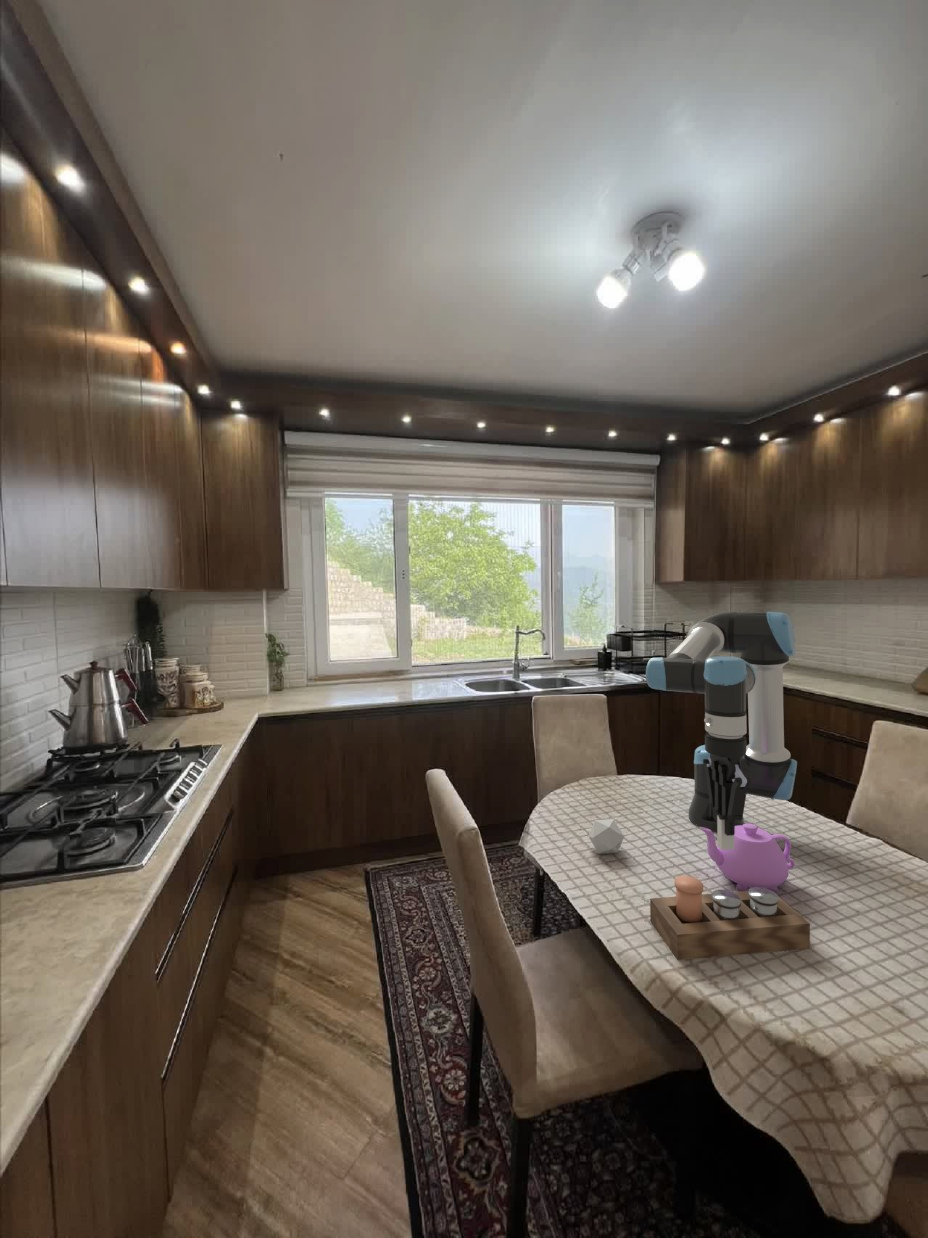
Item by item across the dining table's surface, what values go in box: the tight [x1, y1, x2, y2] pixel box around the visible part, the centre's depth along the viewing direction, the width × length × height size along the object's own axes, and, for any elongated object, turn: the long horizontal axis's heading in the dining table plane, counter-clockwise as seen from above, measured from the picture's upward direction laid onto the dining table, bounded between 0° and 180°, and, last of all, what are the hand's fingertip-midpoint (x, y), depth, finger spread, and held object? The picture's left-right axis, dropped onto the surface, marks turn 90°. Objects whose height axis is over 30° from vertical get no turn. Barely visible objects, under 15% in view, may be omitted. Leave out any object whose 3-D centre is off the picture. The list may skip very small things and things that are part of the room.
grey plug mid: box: [711, 889, 741, 921], centre depth 107 cm, size 5×5×7 cm
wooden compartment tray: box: [649, 889, 811, 961], centre depth 108 cm, size 27×12×5 cm, turn 95°
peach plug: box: [674, 875, 704, 923], centre depth 107 cm, size 5×5×7 cm
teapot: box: [699, 822, 795, 893], centre depth 127 cm, size 22×16×14 cm
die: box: [588, 819, 625, 855], centre depth 143 cm, size 8×9×10 cm
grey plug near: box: [749, 887, 780, 917], centre depth 108 cm, size 5×5×7 cm
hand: (725, 847), depth 107 cm, fingers closed
